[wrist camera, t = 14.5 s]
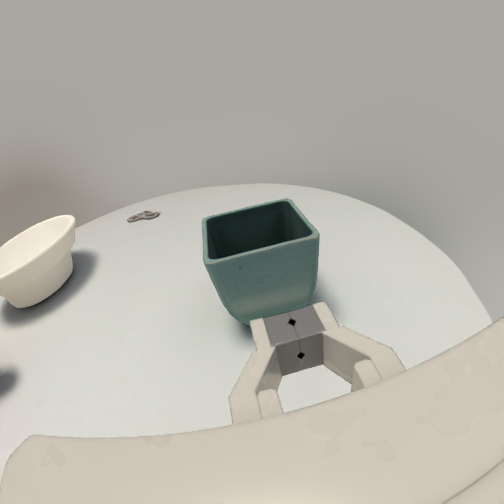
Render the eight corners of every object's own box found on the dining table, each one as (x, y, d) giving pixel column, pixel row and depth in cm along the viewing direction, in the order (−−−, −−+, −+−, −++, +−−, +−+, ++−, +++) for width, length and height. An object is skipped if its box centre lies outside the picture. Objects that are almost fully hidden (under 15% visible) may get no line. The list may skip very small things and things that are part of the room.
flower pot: (222, 289, 33) (201, 216, 29) (298, 270, 34) (289, 196, 29) (230, 347, 26) (202, 264, 21) (326, 322, 26) (322, 235, 22)
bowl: (-15, 338, 31) (-42, 297, 26) (19, 273, 48) (3, 239, 44) (83, 306, 35) (55, 254, 31) (100, 241, 52) (85, 203, 48)
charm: (123, 220, 57) (131, 213, 60) (124, 222, 58) (132, 215, 61) (156, 215, 56) (163, 207, 59) (157, 217, 56) (163, 209, 59)
